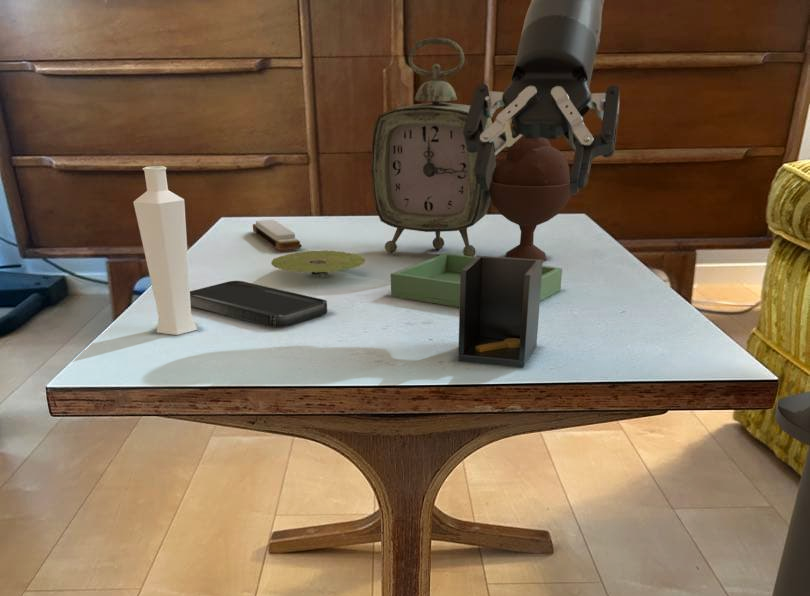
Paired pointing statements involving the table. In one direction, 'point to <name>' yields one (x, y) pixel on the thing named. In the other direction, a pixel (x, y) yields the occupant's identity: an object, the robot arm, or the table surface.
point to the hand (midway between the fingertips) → (528, 186)
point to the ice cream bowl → (530, 190)
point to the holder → (499, 308)
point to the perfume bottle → (165, 251)
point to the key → (499, 345)
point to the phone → (258, 303)
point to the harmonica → (276, 235)
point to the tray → (451, 280)
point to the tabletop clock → (427, 162)
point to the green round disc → (318, 262)
